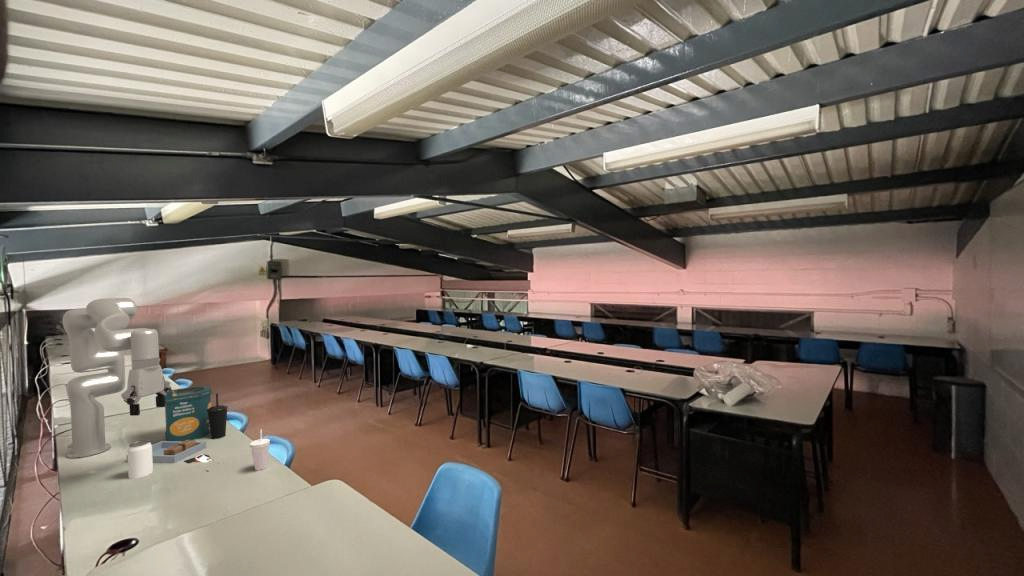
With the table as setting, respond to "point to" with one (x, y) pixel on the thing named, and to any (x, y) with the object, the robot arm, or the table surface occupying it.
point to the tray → (161, 458)
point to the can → (140, 459)
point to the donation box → (187, 413)
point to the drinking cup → (217, 420)
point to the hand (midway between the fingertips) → (148, 410)
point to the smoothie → (260, 452)
